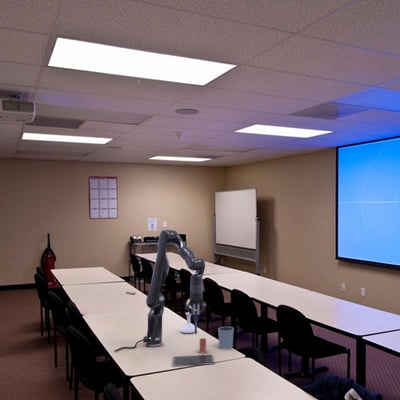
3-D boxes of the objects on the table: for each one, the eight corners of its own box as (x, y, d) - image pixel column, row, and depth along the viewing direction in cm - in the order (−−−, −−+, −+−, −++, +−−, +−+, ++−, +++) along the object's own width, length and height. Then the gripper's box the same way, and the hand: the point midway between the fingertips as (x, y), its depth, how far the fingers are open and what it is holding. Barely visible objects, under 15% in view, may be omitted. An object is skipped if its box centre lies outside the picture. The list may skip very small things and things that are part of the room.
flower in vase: (177, 333, 299) (177, 297, 300) (186, 329, 310) (186, 295, 310) (193, 335, 294) (193, 299, 295) (201, 331, 305) (202, 296, 305)
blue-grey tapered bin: (221, 350, 263) (221, 331, 263) (215, 346, 272) (215, 327, 272) (236, 348, 268) (236, 329, 268) (230, 343, 276) (230, 325, 277)
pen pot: (199, 353, 257) (199, 340, 257) (199, 351, 260) (199, 338, 261) (205, 353, 257) (206, 340, 258) (205, 351, 261) (205, 338, 261)
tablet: (173, 366, 235) (173, 364, 235) (174, 357, 249) (174, 356, 249) (213, 364, 239) (213, 362, 239) (211, 355, 253) (211, 354, 253)
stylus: (194, 334, 253) (195, 312, 253) (194, 333, 254) (195, 312, 254) (196, 334, 253) (197, 312, 254) (196, 333, 254) (197, 312, 255)
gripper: (207, 290, 259) (206, 318, 259) (184, 290, 257) (184, 319, 256) (208, 292, 252) (207, 321, 252) (185, 293, 249) (184, 322, 249)
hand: (195, 320), depth 254 cm, fingers closed on stylus, 1 cm apart
